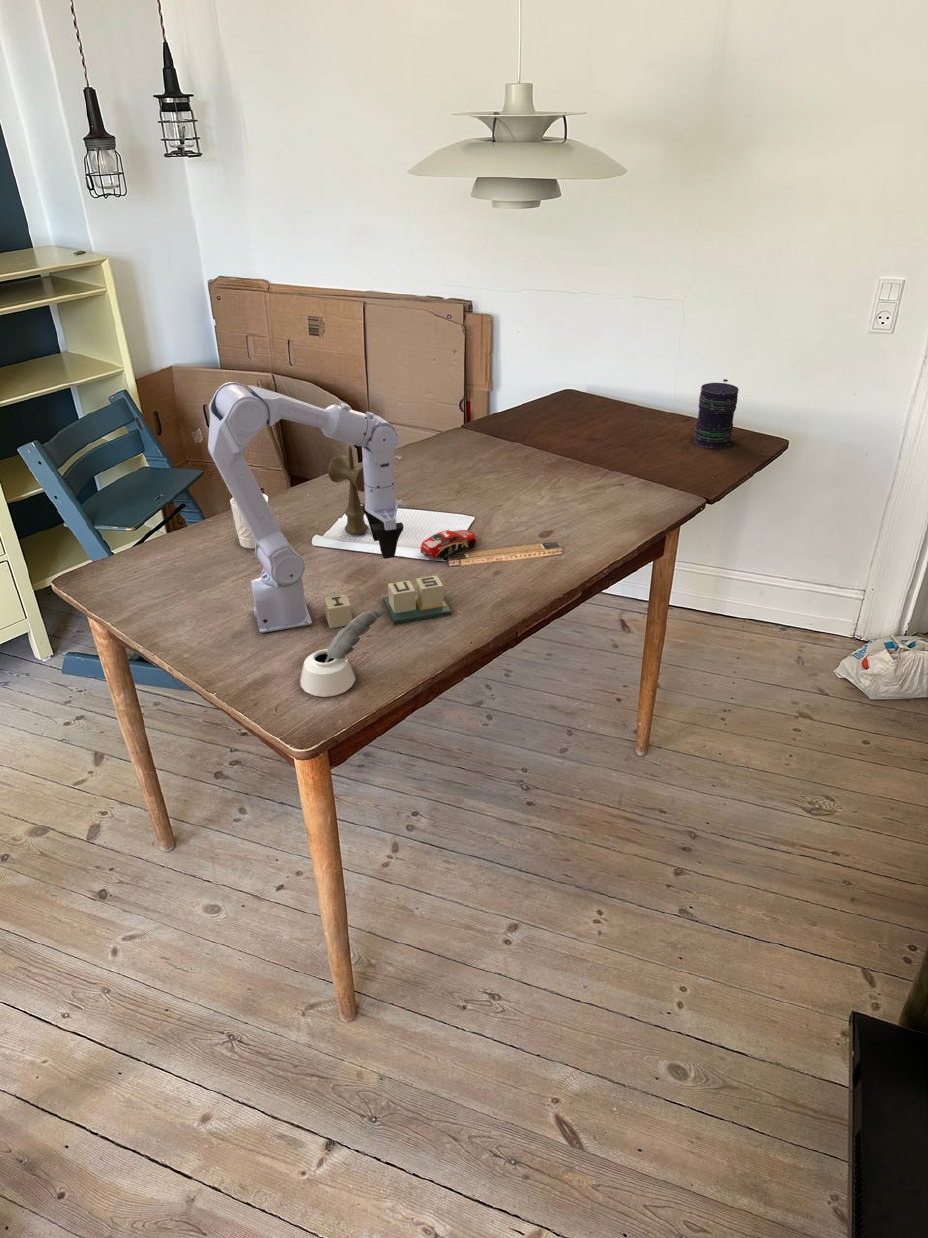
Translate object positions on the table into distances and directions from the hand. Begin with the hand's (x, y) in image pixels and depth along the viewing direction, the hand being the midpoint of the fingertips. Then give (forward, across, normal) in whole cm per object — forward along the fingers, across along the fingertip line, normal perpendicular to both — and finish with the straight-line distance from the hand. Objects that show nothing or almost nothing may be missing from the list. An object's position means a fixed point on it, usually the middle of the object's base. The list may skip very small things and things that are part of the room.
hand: (383, 548), depth 169 cm
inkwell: (+10, -24, +13) cm, 29 cm away
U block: (+9, -8, -1) cm, 12 cm away
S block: (+8, -8, -7) cm, 13 cm away
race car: (+10, +13, -17) cm, 23 cm away
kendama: (+10, +28, 0) cm, 30 cm away
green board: (+9, -8, -4) cm, 13 cm away
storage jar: (+10, +51, -104) cm, 116 cm away
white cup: (+10, +30, +22) cm, 38 cm away
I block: (+9, -8, +11) cm, 17 cm away
